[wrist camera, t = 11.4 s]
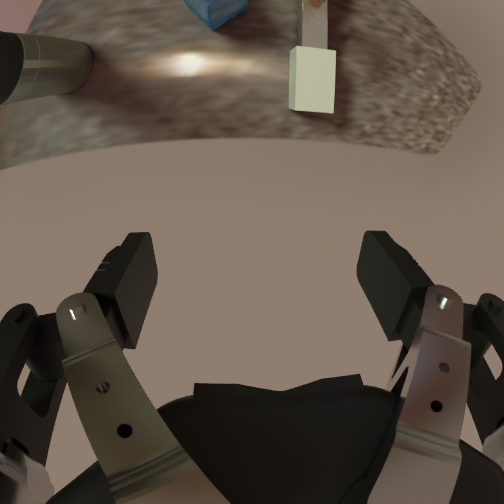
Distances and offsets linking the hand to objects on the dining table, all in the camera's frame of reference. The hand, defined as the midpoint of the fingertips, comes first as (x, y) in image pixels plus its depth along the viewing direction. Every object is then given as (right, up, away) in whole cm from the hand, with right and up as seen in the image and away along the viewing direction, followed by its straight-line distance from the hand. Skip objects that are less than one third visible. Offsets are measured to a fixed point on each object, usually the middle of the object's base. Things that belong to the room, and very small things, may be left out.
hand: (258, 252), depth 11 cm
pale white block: (+8, +25, +25) cm, 36 cm away
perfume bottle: (-5, +35, +19) cm, 40 cm away
